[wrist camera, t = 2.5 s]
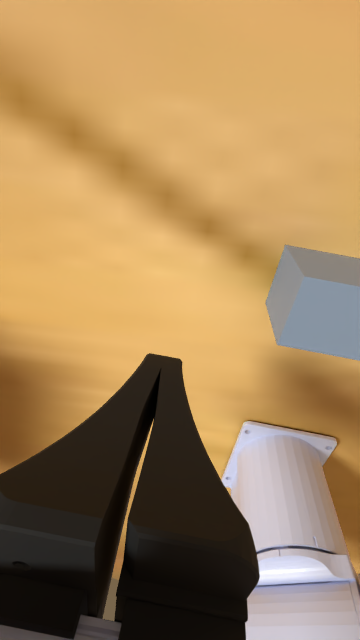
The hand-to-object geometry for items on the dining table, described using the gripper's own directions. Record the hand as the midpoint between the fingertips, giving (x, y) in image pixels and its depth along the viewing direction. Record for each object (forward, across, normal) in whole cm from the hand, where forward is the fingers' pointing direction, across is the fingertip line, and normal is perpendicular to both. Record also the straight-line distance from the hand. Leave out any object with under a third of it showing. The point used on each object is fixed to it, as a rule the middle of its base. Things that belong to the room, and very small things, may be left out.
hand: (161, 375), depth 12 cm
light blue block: (+10, -10, -1) cm, 14 cm away
